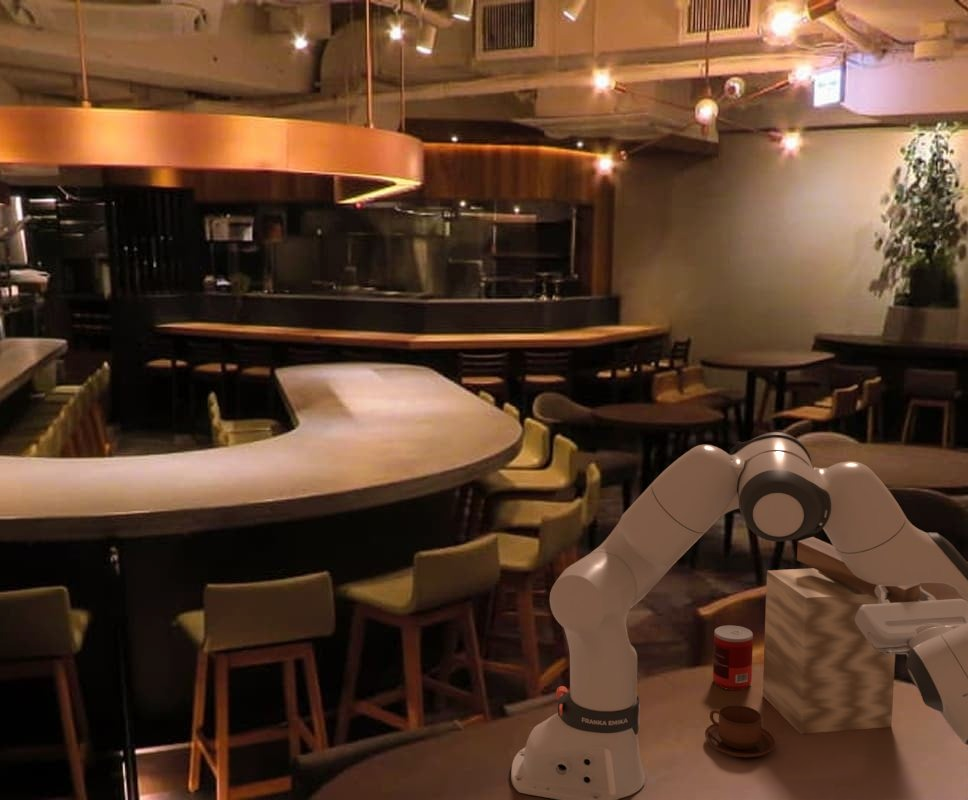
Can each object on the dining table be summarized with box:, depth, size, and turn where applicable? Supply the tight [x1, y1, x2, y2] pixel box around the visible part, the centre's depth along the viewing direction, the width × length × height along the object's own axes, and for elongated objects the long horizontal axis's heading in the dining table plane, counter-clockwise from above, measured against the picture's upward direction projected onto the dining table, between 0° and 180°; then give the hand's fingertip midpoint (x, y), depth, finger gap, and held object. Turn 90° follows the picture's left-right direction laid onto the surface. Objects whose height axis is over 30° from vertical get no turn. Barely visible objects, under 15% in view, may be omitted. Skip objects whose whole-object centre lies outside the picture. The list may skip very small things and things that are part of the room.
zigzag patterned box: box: [762, 567, 896, 735], centre depth 177 cm, size 18×16×27 cm
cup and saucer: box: [704, 704, 775, 759], centre depth 165 cm, size 12×12×6 cm
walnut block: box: [796, 536, 921, 603], centre depth 170 cm, size 4×24×4 cm, turn 28°
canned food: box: [712, 624, 754, 691], centre depth 190 cm, size 8×8×11 cm
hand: (896, 586), depth 162 cm, fingers closed on walnut block, 5 cm apart
